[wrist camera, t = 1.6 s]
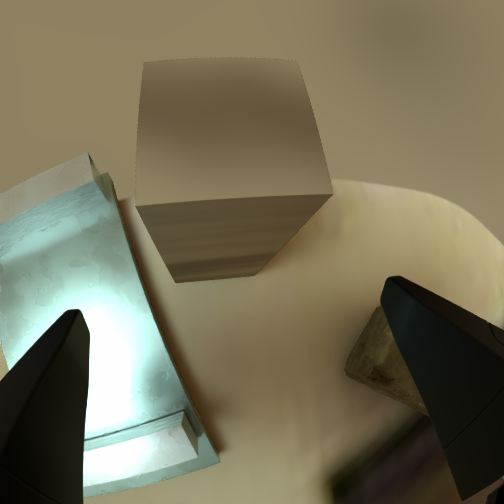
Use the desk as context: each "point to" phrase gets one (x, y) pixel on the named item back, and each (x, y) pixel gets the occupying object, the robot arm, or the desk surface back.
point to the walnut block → (226, 163)
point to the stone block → (383, 363)
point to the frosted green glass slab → (91, 305)
